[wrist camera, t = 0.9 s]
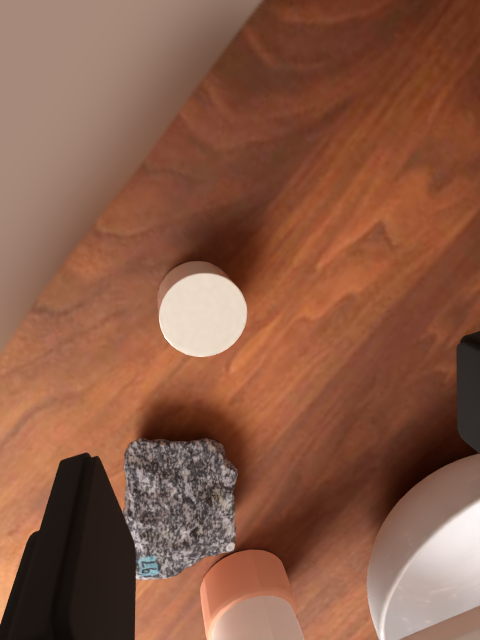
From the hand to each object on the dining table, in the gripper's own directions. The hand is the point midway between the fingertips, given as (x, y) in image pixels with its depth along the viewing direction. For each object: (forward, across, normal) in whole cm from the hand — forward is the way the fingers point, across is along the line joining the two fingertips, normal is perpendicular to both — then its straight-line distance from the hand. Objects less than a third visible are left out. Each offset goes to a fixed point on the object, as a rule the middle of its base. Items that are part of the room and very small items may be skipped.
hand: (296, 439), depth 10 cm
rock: (+16, +6, +14) cm, 22 cm away
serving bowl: (+16, -16, +27) cm, 35 cm away
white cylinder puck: (+16, +1, +1) cm, 16 cm away
